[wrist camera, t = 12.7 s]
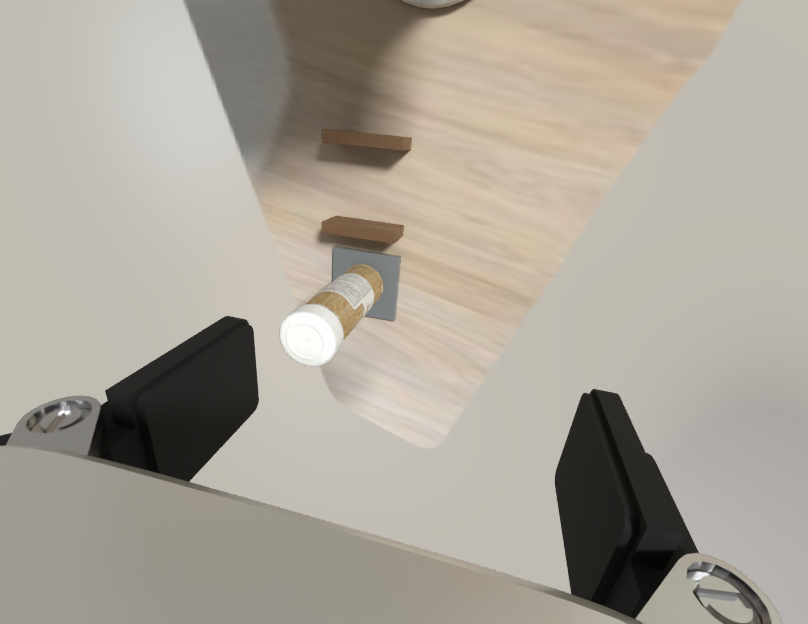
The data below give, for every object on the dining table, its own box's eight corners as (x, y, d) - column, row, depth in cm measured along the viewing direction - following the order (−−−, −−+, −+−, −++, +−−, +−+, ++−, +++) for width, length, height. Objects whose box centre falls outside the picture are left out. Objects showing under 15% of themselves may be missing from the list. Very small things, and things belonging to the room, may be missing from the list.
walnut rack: (337, 130, 36) (321, 128, 33) (411, 137, 35) (402, 137, 32) (335, 225, 40) (321, 232, 36) (402, 235, 38) (394, 243, 35)
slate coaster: (335, 245, 40) (333, 247, 40) (401, 256, 39) (399, 257, 39) (334, 307, 43) (332, 309, 43) (395, 318, 42) (393, 321, 42)
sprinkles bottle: (367, 311, 42) (312, 379, 30) (335, 283, 41) (266, 340, 29) (394, 283, 40) (346, 343, 28) (360, 252, 39) (297, 300, 27)
